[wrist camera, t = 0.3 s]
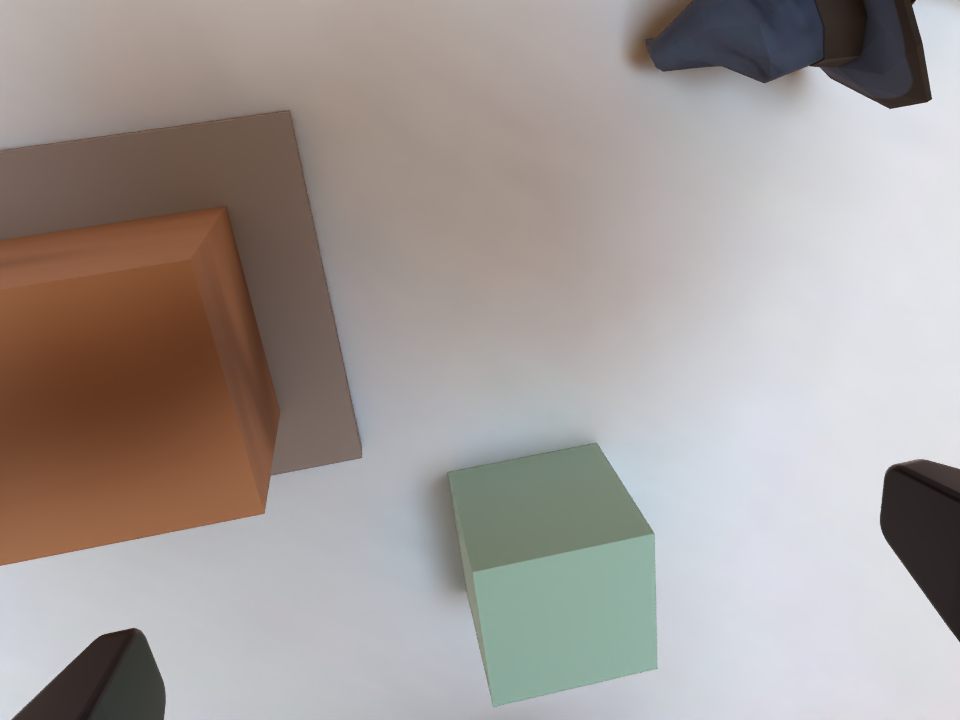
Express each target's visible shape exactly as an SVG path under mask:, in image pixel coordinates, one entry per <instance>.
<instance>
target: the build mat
mask: <svg viewBox="0 0 960 720" xmlns="http://www.w3.org/2000/svg"><path fill="white" fill-rule="evenodd" d="M222 206H226V207H227V211H228V215H229V219H230V223H231V226H232V230H233V234H234V238H235V242H236V245H237V249H238V253H239V257H240V261H241V265H242V268H243V272H244V276H245V280H246V284H247V287H248V291H249V295H250V299H251V303H252V306H253V310H254V314H255V318H256V322H257V326H258V329H259V333H260V337H261V341H262V345H263V348H264V352H265V356H266V360H267V364H268V368H269V371H270V375H271V379H272V383H273V387H274V390H275V394H276V398H277V402H278V406H279V409H280V417H279V424H278V430H277V436H276V443H275V449H274V456H273V462H272V469H271V475H276V474H281V473H286V472H292V471H297V470H302V469H307V468H313V467H318V466H323V465H328V464H333V463H339V462H344V461H349V460H354V459H359V458H362V447H361V442H360V438H359V433H358V428H357V424H356V419H355V415H354V410H353V405H352V401H351V396H350V391H349V387H348V382H347V377H346V373H345V368H344V363H343V359H342V354H341V349H340V345H339V340H338V335H337V331H336V326H335V321H334V317H333V312H332V307H331V303H330V298H329V293H328V289H327V284H326V279H325V275H324V270H323V265H322V261H321V256H320V251H319V247H318V242H317V237H316V233H315V228H314V223H313V219H312V214H311V209H310V205H309V200H308V195H307V191H306V186H305V181H304V177H303V172H302V167H301V163H300V158H299V153H298V149H297V144H296V139H295V135H294V130H293V125H292V121H291V116H290V111H283V112H276V113H268V114H261V115H254V116H247V117H239V118H232V119H225V120H218V121H211V122H203V123H196V124H189V125H182V126H175V127H167V128H160V129H153V130H146V131H138V132H131V133H124V134H117V135H110V136H102V137H95V138H88V139H81V140H73V141H66V142H59V143H52V144H45V145H37V146H30V147H23V148H16V149H8V150H1V151H0V240H4V239H11V238H17V237H24V236H31V235H37V234H44V233H51V232H57V231H64V230H70V229H77V228H84V227H90V226H97V225H103V224H110V223H117V222H123V221H130V220H136V219H143V218H150V217H156V216H163V215H170V214H176V213H183V212H189V211H196V210H203V209H209V208H216V207H222ZM271 475H270V476H271Z"/></svg>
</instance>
